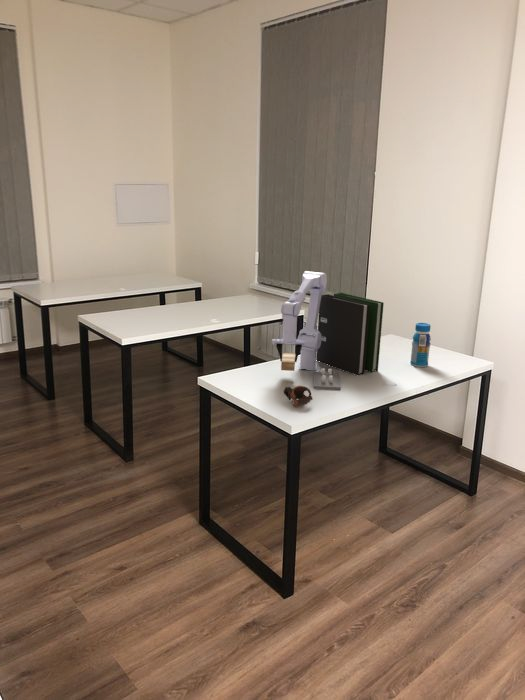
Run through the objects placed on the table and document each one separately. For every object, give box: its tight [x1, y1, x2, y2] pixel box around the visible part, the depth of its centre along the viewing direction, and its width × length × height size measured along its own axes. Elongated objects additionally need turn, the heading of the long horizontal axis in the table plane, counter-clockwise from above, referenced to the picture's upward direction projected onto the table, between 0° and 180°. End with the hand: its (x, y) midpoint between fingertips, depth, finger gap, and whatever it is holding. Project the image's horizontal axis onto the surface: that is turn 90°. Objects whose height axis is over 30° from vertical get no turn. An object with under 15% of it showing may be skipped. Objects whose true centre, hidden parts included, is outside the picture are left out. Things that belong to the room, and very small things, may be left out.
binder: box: [316, 292, 385, 376], centre depth 270 cm, size 27×15×32 cm, turn 37°
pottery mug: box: [283, 385, 314, 409], centre depth 224 cm, size 12×10×8 cm
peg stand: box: [312, 367, 342, 391], centre depth 250 cm, size 20×11×4 cm, turn 176°
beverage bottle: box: [410, 322, 432, 368], centre depth 276 cm, size 8×8×20 cm
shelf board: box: [280, 352, 296, 372], centre depth 250 cm, size 14×6×4 cm, turn 176°
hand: (288, 361), depth 250 cm, fingers closed on shelf board, 5 cm apart
